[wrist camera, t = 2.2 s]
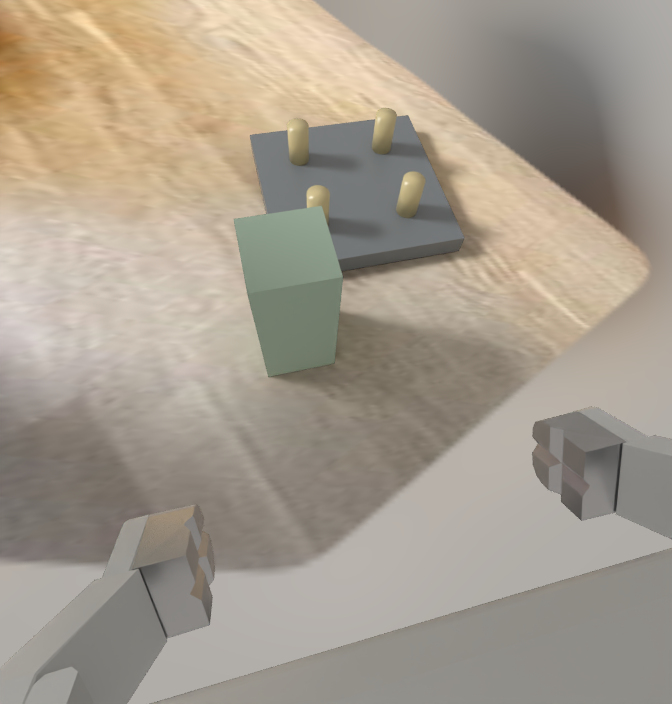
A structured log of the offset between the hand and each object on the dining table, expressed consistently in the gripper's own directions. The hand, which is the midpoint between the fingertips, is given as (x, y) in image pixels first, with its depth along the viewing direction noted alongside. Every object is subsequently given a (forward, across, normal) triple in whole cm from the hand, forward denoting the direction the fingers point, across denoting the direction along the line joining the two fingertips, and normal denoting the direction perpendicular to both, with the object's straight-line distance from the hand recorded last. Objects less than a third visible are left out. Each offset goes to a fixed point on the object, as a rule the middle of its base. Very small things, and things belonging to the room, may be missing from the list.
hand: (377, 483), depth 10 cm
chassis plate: (+29, -7, -6) cm, 30 cm away
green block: (+20, 0, +3) cm, 21 cm away
